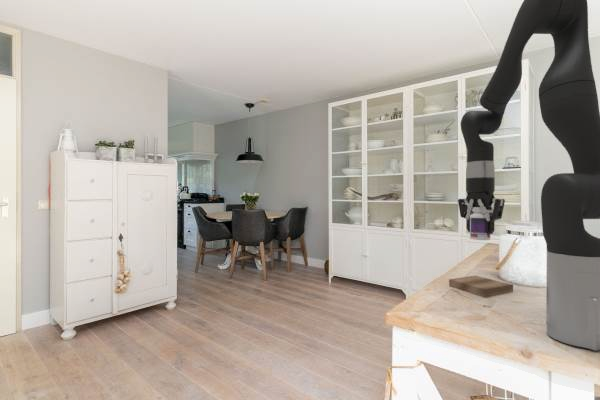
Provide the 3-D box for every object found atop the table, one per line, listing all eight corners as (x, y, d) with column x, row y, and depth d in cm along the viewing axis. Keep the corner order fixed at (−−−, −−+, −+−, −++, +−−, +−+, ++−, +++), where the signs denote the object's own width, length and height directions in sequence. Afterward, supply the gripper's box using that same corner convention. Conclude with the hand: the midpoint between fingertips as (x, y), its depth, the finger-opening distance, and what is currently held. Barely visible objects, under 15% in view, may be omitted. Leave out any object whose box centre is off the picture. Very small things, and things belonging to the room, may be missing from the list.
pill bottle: (493, 240, 92) (493, 207, 92) (473, 240, 93) (473, 207, 93) (486, 238, 98) (486, 207, 98) (467, 237, 99) (467, 206, 99)
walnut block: (513, 294, 92) (513, 284, 92) (485, 300, 88) (485, 289, 88) (475, 284, 104) (475, 275, 104) (449, 288, 99) (449, 279, 99)
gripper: (512, 175, 90) (512, 234, 90) (467, 178, 104) (467, 230, 104) (494, 175, 87) (494, 236, 87) (451, 178, 101) (451, 231, 101)
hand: (479, 232), depth 96 cm, fingers closed on pill bottle, 5 cm apart
